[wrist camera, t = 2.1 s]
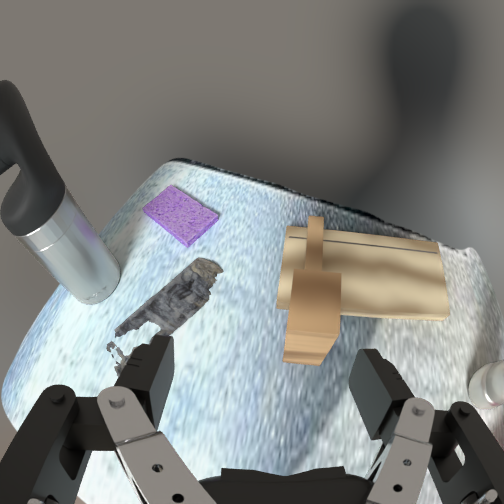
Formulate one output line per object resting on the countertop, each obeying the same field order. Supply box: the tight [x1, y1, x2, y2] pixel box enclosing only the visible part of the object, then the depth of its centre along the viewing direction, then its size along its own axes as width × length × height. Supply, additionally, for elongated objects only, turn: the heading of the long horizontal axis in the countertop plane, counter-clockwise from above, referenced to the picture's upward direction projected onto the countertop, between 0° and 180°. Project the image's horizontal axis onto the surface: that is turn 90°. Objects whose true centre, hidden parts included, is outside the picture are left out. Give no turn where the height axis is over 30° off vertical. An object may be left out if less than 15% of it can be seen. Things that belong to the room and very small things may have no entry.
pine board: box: [277, 226, 450, 321], centre depth 39 cm, size 12×24×2 cm, turn 81°
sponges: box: [143, 185, 218, 248], centre depth 48 cm, size 7×13×2 cm, turn 49°
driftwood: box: [106, 258, 223, 377], centre depth 39 cm, size 21×7×2 cm, turn 135°
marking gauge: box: [283, 216, 341, 366], centre depth 34 cm, size 18×4×12 cm, turn 171°
